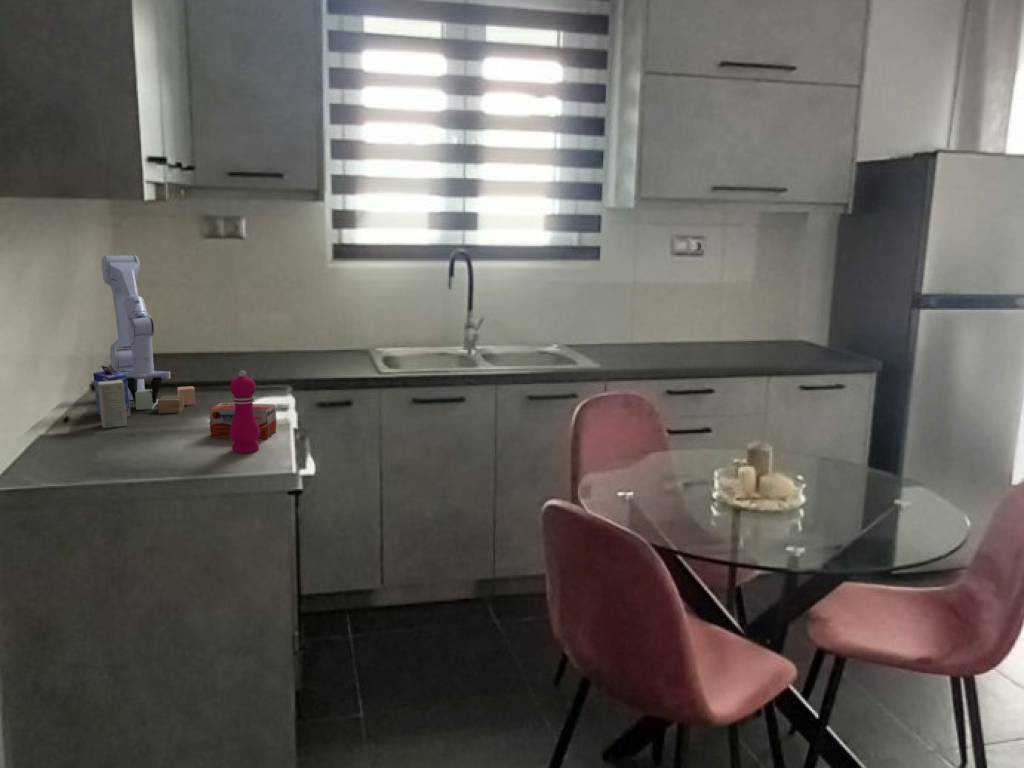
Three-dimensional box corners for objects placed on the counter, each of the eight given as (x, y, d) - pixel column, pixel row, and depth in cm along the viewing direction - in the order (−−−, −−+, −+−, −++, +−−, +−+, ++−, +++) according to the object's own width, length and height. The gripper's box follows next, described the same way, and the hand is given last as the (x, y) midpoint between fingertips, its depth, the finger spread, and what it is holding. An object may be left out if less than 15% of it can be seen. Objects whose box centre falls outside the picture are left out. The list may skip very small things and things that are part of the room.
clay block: (178, 403, 265) (177, 387, 264) (193, 402, 267) (192, 386, 266) (180, 406, 261) (179, 389, 260) (195, 404, 263) (194, 388, 262)
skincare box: (125, 422, 239) (122, 379, 237) (127, 426, 235) (124, 382, 233) (100, 425, 236) (97, 381, 234) (102, 428, 232) (98, 384, 230)
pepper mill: (224, 450, 213) (220, 370, 209) (250, 444, 218) (247, 366, 215) (240, 455, 208) (237, 374, 205) (266, 450, 214) (263, 370, 210)
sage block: (139, 406, 259) (138, 389, 258) (155, 405, 260) (154, 389, 259) (136, 409, 255) (135, 392, 254) (152, 409, 256) (151, 392, 255)
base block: (163, 409, 257) (162, 396, 256) (184, 408, 258) (183, 395, 257) (158, 413, 251) (157, 400, 250) (179, 413, 252) (179, 399, 251)
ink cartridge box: (95, 414, 248) (91, 364, 245) (114, 411, 252) (110, 362, 250) (112, 419, 242) (108, 368, 239) (131, 416, 246) (127, 366, 243)
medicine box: (276, 432, 232) (275, 403, 230) (268, 440, 224) (267, 410, 222) (220, 431, 232) (219, 402, 230) (209, 439, 224) (208, 409, 222)
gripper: (113, 360, 249) (116, 406, 252) (166, 359, 252) (169, 405, 255) (118, 356, 256) (121, 401, 259) (170, 355, 259) (173, 400, 262)
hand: (145, 402), depth 257 cm, fingers closed on sage block, 4 cm apart
